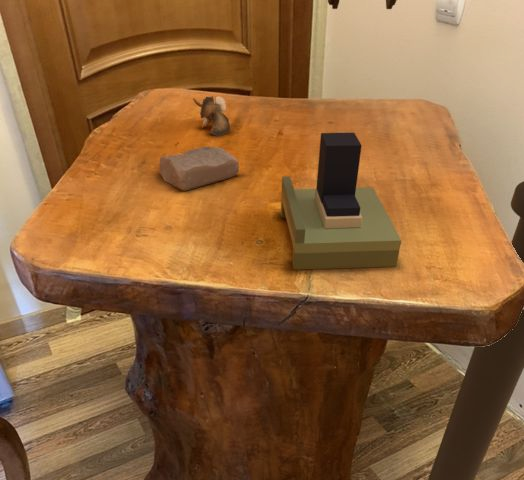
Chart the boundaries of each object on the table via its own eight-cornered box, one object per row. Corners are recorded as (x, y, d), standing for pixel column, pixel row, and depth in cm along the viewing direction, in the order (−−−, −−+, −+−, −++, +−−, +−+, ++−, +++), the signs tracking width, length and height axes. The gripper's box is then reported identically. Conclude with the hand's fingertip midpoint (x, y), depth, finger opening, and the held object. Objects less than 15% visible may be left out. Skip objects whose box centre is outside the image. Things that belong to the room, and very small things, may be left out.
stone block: (155, 183, 97) (183, 193, 90) (151, 155, 95) (178, 162, 88) (213, 170, 103) (243, 178, 96) (210, 143, 100) (240, 149, 93)
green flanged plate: (369, 211, 87) (375, 174, 83) (396, 266, 75) (404, 226, 71) (280, 213, 86) (282, 176, 82) (293, 269, 74) (296, 229, 70)
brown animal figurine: (184, 117, 115) (192, 123, 107) (199, 84, 113) (209, 87, 105) (215, 135, 118) (226, 142, 111) (231, 103, 116) (242, 108, 109)
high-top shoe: (314, 198, 81) (319, 132, 75) (347, 197, 81) (355, 132, 75) (324, 228, 74) (331, 159, 68) (361, 227, 75) (371, 158, 68)
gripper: (315, -118, 81) (322, -12, 80) (409, -116, 82) (417, -12, 81) (307, -75, 89) (313, 22, 88) (394, -74, 90) (401, 21, 89)
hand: (363, 5), depth 85 cm, fingers open, 8 cm apart
